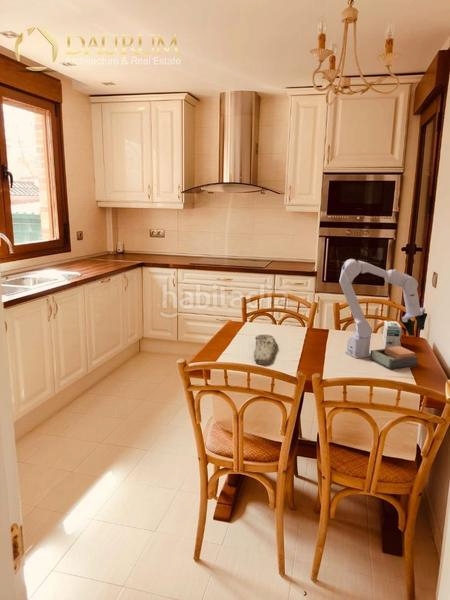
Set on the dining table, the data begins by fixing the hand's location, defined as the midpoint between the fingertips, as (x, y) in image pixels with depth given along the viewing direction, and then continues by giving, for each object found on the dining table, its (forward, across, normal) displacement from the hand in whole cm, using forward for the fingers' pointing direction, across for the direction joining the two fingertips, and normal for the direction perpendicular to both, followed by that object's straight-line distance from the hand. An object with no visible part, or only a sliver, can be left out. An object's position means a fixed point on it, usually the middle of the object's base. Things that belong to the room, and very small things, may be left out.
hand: (416, 332), depth 190 cm
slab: (+7, -12, +2) cm, 14 cm away
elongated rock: (-5, -54, +42) cm, 68 cm away
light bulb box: (+11, +6, +20) cm, 23 cm away
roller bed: (+9, -15, +3) cm, 18 cm away
